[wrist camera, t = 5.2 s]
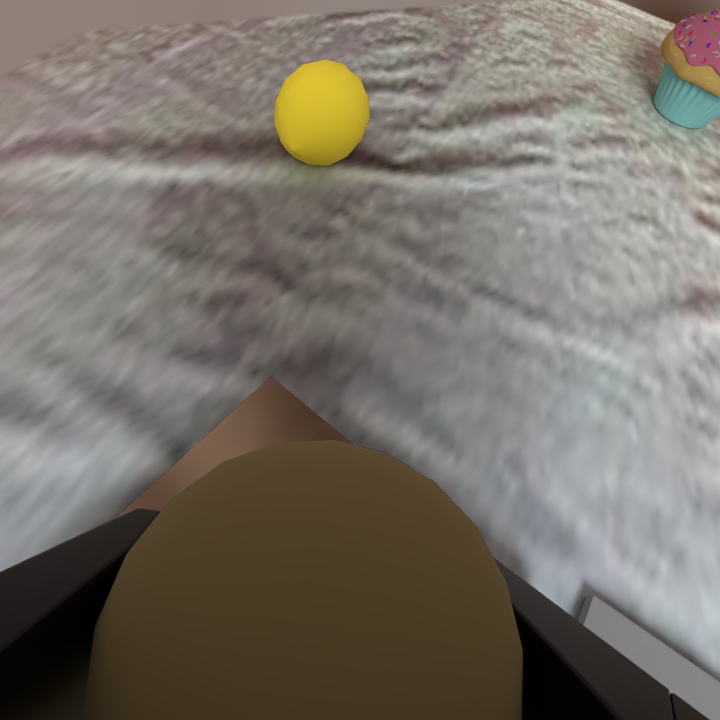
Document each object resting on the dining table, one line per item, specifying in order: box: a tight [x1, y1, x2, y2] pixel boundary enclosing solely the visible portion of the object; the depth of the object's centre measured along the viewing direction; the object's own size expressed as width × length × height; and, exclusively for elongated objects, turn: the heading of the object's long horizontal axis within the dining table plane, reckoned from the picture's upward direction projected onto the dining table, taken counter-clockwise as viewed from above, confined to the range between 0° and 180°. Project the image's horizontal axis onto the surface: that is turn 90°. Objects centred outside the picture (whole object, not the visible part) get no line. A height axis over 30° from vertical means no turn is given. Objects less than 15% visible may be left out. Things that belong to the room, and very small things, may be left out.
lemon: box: [274, 60, 370, 165], centre depth 30 cm, size 7×5×5 cm
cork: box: [84, 440, 523, 720], centre depth 10 cm, size 6×6×11 cm
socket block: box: [116, 377, 353, 518], centre depth 17 cm, size 14×14×2 cm
